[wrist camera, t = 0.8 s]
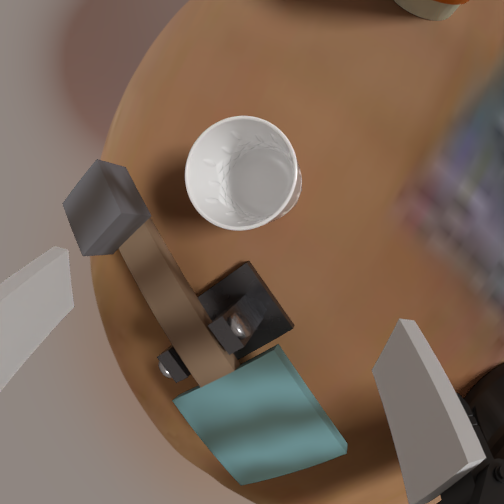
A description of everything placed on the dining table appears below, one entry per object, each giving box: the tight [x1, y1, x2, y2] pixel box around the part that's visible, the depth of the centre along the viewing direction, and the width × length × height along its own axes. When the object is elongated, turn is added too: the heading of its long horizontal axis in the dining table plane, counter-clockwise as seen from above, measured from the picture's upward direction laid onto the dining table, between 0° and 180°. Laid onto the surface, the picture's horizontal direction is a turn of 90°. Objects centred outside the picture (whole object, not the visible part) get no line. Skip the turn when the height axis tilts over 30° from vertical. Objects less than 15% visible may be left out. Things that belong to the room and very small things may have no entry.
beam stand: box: [157, 261, 294, 383], centre depth 28 cm, size 8×12×8 cm, turn 126°
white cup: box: [185, 116, 302, 230], centre depth 24 cm, size 8×8×10 cm
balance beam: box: [63, 159, 348, 485], centre depth 23 cm, size 33×12×6 cm, turn 36°
